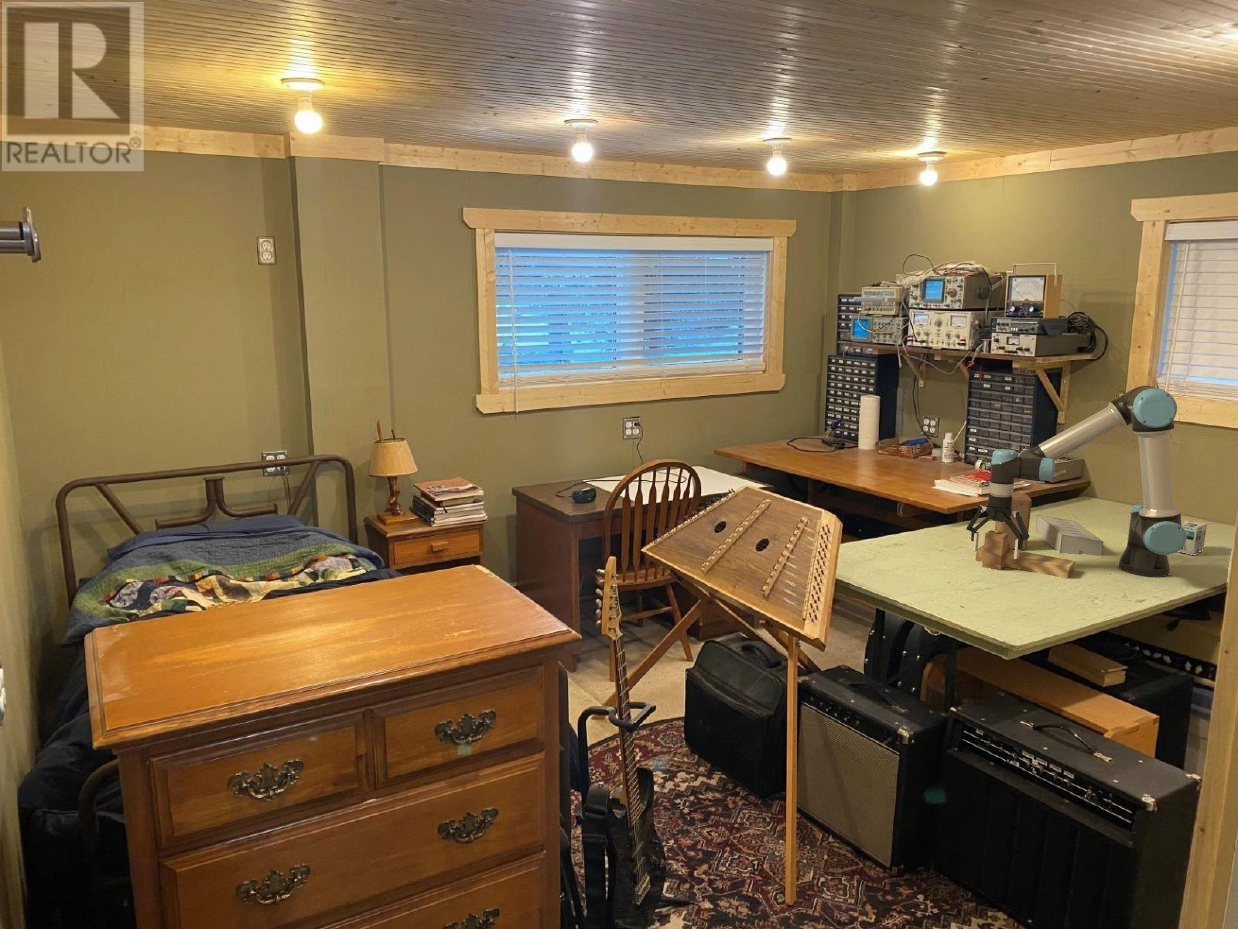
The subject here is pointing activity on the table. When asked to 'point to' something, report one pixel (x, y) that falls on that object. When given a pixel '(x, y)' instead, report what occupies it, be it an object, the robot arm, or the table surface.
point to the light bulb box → (1194, 537)
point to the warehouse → (1068, 536)
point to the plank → (1036, 563)
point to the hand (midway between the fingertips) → (995, 554)
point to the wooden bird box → (995, 549)
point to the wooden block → (1018, 503)
